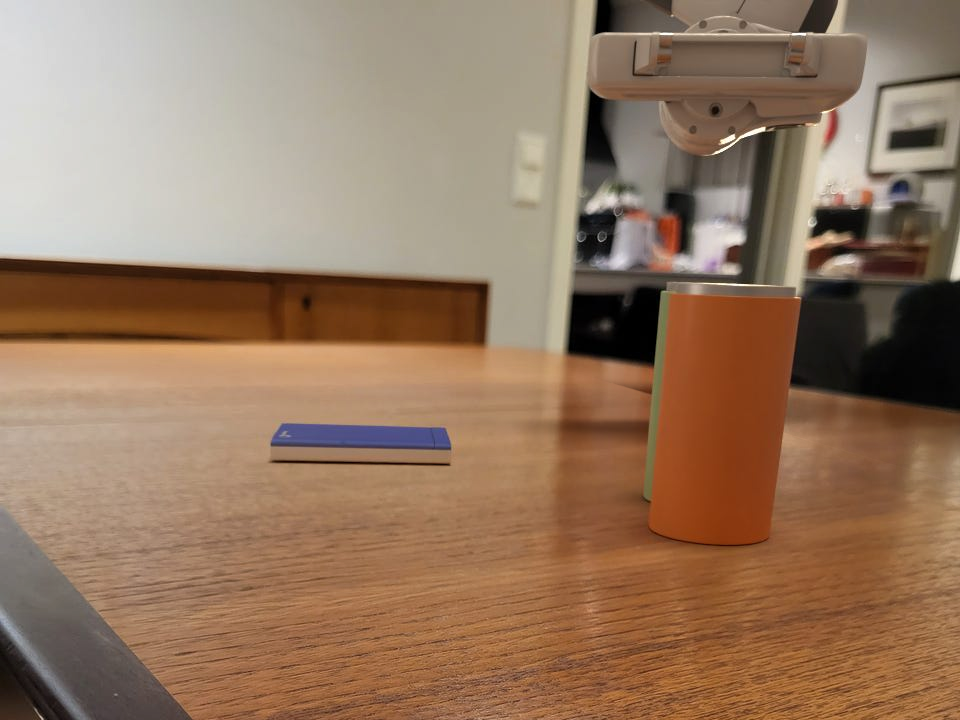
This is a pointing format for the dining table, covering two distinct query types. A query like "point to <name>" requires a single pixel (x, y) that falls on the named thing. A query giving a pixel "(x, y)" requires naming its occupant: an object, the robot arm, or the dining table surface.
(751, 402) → the orange can
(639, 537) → the dining table surface
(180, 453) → the dining table surface
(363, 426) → the hard drive
